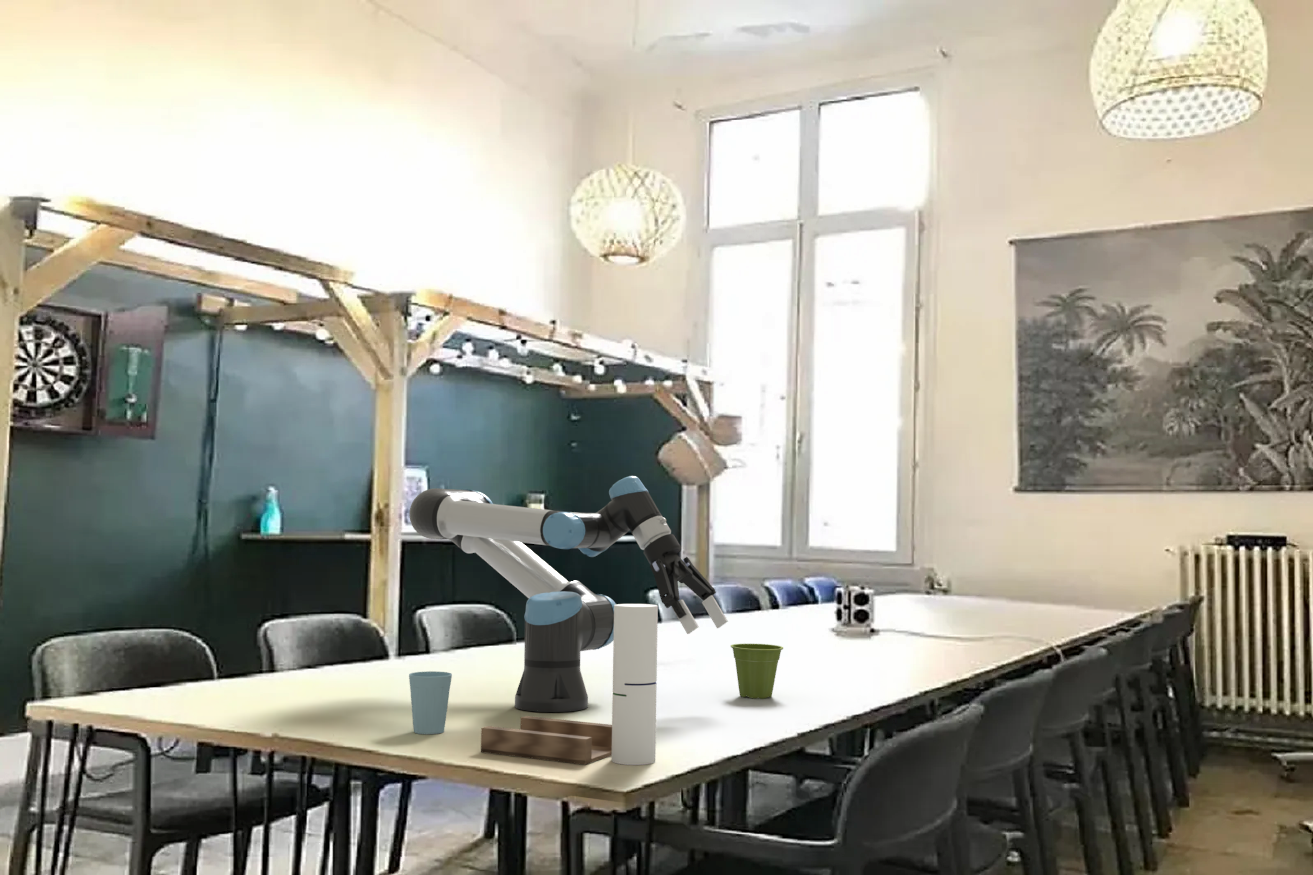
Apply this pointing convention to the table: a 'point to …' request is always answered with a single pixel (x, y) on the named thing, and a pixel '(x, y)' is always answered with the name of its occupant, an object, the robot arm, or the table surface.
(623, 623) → the cylindrical container
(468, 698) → the table surface
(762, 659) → the plant pot
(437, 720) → the cup
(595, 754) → the walnut U-channel
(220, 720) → the table surface
